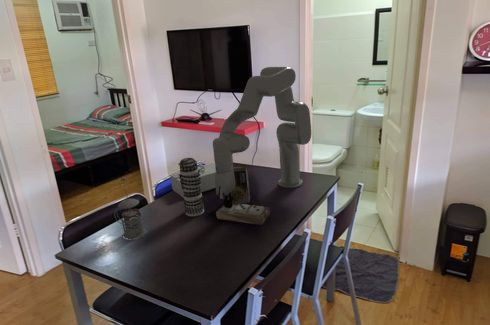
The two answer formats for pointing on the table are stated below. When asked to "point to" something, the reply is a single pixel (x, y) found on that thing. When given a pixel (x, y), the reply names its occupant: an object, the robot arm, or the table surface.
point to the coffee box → (241, 185)
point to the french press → (135, 229)
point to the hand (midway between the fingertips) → (228, 206)
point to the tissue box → (206, 180)
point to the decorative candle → (191, 187)
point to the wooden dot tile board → (243, 216)
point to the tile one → (229, 208)
